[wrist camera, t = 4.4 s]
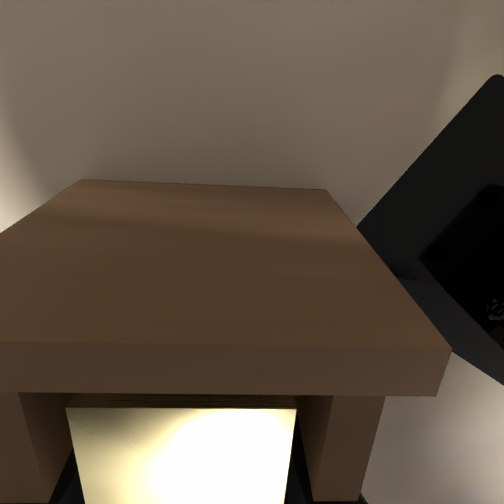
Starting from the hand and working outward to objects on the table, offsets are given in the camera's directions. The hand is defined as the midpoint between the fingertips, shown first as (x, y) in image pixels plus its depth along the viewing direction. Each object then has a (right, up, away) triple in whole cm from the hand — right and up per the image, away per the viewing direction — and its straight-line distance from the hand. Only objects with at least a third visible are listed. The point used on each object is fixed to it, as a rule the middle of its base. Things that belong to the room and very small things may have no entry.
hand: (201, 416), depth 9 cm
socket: (0, +3, 0) cm, 3 cm away
